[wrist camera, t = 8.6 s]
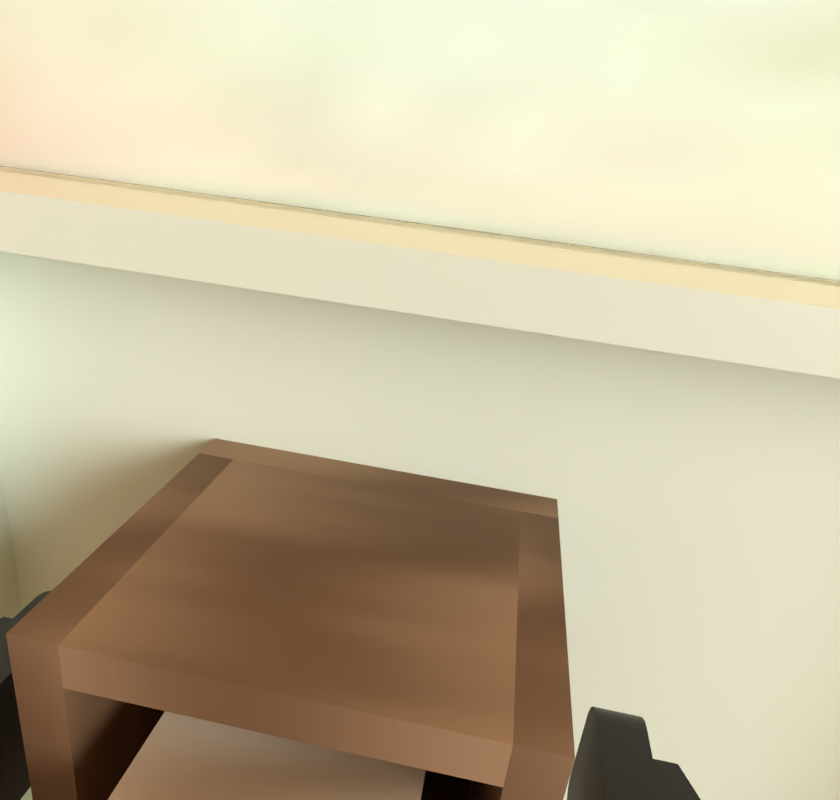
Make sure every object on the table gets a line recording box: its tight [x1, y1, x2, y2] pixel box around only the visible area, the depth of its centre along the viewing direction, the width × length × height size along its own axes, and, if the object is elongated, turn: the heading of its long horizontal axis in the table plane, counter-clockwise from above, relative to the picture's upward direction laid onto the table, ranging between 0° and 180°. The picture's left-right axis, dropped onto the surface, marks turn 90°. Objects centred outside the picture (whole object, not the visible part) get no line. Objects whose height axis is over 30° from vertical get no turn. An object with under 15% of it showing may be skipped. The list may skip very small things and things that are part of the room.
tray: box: [0, 166, 840, 800], centre depth 12 cm, size 20×14×2 cm
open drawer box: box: [6, 438, 575, 800], centre depth 10 cm, size 6×6×5 cm
